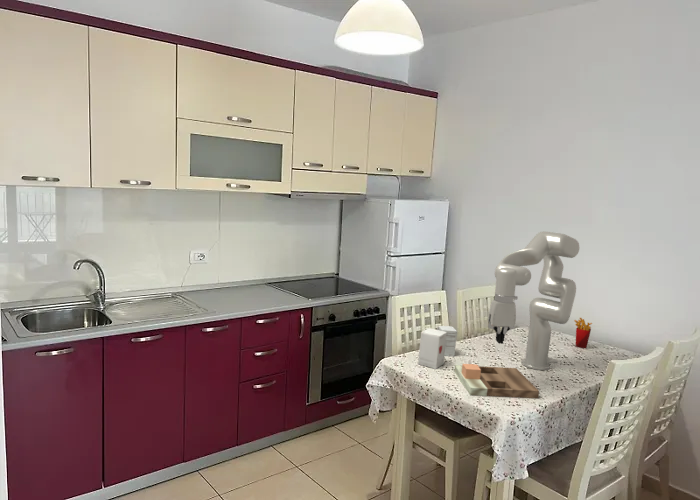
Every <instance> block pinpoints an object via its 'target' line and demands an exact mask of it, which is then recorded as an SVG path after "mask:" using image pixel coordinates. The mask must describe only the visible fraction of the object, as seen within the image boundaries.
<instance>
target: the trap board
mask: <svg viewBox="0 0 700 500" xmlns="http://www.w3.org/2000/svg"><path fill="white" fill-rule="evenodd" d="M462 365H463V364H462ZM462 365H459V364H454V374H455V375H456V376H457V378H458V379H459V381H460V383H462V385H463V387H464V388H465V390H466V391H467V393H468V394H469V396H479V397H500V398H502V397H503V398H520V399H521V398H522V399H524V398H525V399H539V395H540V390H539V389H537V387H536V386H535V385H534V384H533V382H531V381H530V380H529V379H528V378H527V377H526V376H525V375H524V374H523V373H522V372H521V371H520V370H519V369H518V368H517V367H503V366H502V367H501V366H500V367H499V366H498V367H497V366H479V365H478V367H479V368H480V369H481V375H480V379H465V377H464V376H463V374H462Z"/></svg>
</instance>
